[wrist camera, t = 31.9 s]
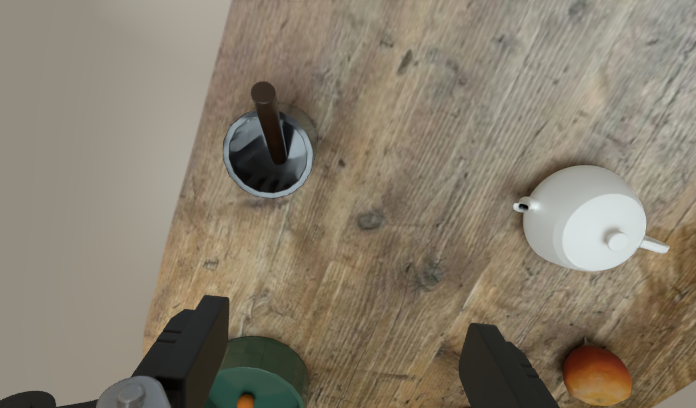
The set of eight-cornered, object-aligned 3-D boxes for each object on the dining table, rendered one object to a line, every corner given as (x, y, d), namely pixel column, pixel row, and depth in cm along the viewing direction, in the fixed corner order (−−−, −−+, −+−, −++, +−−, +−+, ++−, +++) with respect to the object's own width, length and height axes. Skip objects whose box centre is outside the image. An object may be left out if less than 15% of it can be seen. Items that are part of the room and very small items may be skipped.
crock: (243, 170, 46) (221, 192, 37) (246, 98, 43) (224, 103, 35) (314, 179, 46) (308, 203, 38) (321, 108, 44) (317, 116, 35)
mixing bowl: (201, 416, 57) (186, 454, 52) (203, 331, 53) (186, 362, 47) (303, 424, 58) (299, 462, 53) (313, 341, 54) (310, 373, 48)
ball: (249, 395, 53) (250, 387, 56) (232, 405, 53) (234, 396, 55) (256, 410, 53) (257, 402, 56) (240, 420, 53) (242, 411, 55)
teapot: (467, 230, 49) (498, 268, 39) (508, 136, 45) (554, 153, 35) (605, 270, 51) (667, 316, 41) (655, 184, 47) (736, 212, 38)
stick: (268, 160, 44) (246, 96, 28) (276, 147, 44) (258, 77, 29) (282, 167, 44) (268, 107, 28) (290, 154, 44) (279, 87, 29)
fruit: (635, 344, 53) (654, 406, 48) (587, 360, 59) (600, 417, 54) (588, 323, 52) (602, 384, 47) (544, 342, 58) (552, 398, 52)
